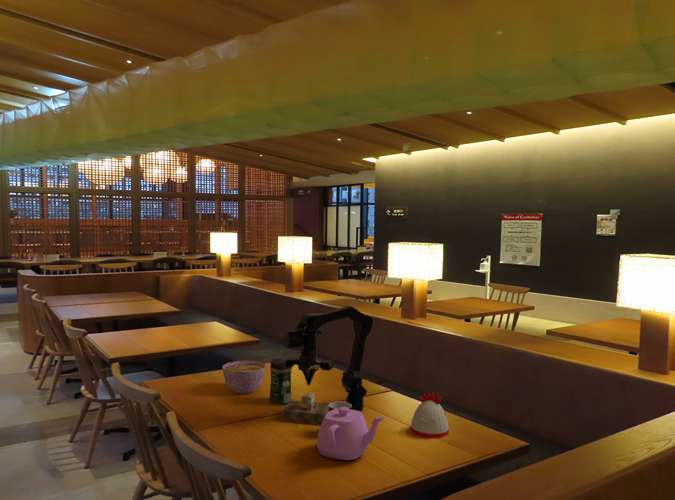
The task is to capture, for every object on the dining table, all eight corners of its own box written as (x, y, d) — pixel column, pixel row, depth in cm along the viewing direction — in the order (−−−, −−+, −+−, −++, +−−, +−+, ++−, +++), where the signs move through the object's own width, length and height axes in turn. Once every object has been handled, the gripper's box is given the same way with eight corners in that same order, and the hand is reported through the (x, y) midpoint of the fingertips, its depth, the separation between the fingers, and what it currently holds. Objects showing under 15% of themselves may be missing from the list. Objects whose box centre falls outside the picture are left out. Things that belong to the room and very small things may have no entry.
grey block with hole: (333, 414, 215) (333, 404, 215) (325, 425, 203) (325, 414, 203) (291, 410, 219) (291, 400, 219) (280, 420, 208) (281, 410, 208)
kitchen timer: (445, 440, 191) (446, 399, 190) (407, 434, 195) (408, 394, 195) (451, 427, 204) (452, 388, 203) (415, 422, 208) (416, 384, 208)
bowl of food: (275, 389, 247) (275, 364, 247) (245, 400, 230) (245, 374, 230) (242, 382, 258) (243, 358, 257) (212, 392, 241) (212, 367, 240)
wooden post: (314, 416, 213) (314, 394, 213) (311, 419, 209) (311, 397, 208) (304, 415, 214) (304, 392, 214) (300, 418, 210) (301, 396, 209)
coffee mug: (334, 438, 191) (335, 410, 191) (323, 429, 199) (324, 403, 198) (362, 432, 196) (363, 406, 196) (351, 425, 204) (351, 399, 204)
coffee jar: (266, 400, 232) (267, 357, 231) (282, 397, 236) (283, 355, 236) (278, 406, 224) (278, 362, 223) (294, 403, 229) (294, 360, 228)
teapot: (304, 462, 170) (305, 416, 170) (329, 439, 190) (330, 397, 189) (372, 476, 162) (373, 427, 162) (391, 449, 182) (392, 406, 181)
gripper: (280, 348, 205) (279, 388, 206) (326, 352, 201) (326, 393, 201) (289, 342, 216) (289, 380, 217) (334, 346, 211) (333, 385, 212)
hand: (308, 385), depth 211 cm, fingers closed
